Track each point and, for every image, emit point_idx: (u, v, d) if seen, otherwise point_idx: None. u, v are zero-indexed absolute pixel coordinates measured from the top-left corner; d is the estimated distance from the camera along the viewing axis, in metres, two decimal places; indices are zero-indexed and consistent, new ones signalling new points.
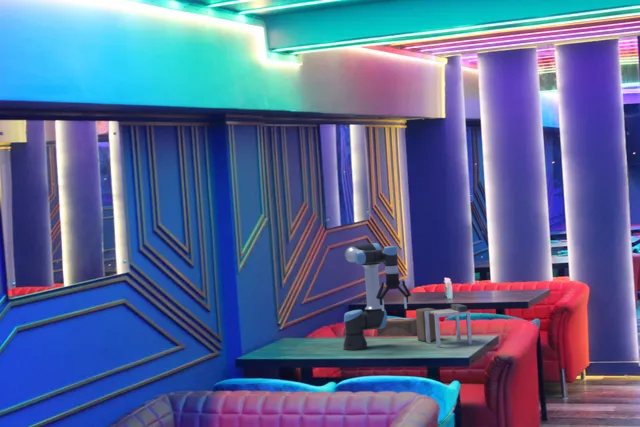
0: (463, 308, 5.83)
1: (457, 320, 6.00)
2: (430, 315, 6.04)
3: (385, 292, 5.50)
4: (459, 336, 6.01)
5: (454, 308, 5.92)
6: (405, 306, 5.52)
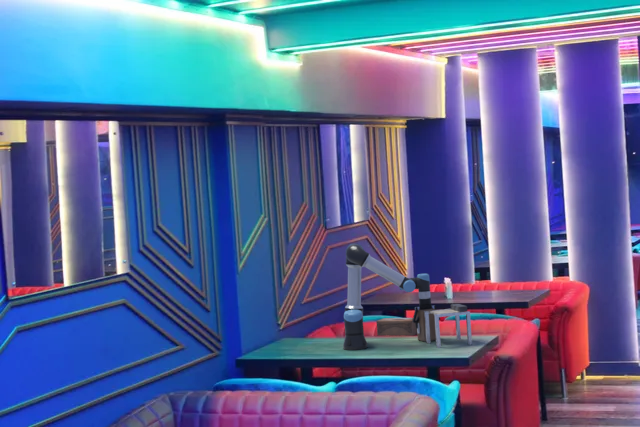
0: (463, 308, 5.83)
1: (457, 320, 6.00)
2: (430, 315, 6.04)
3: None
4: (459, 336, 6.01)
5: (454, 308, 5.92)
6: None
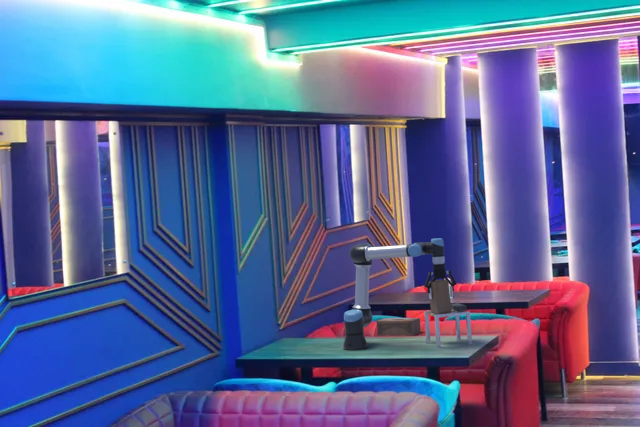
0: (463, 308, 5.83)
1: (457, 320, 6.00)
2: (442, 287, 5.84)
3: (432, 281, 5.86)
4: (459, 336, 6.01)
5: (454, 308, 5.92)
6: (451, 294, 5.89)
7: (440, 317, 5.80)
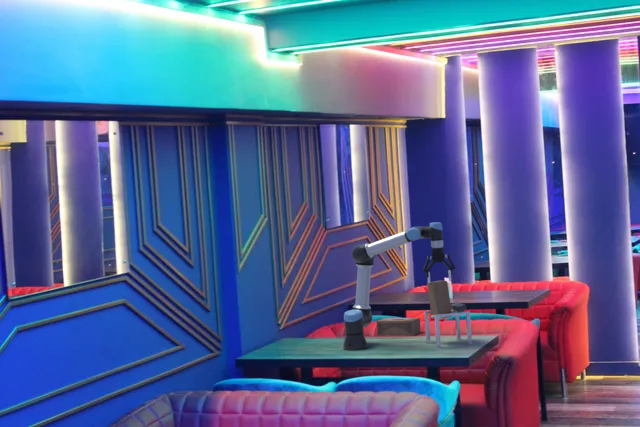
0: (462, 307, 5.83)
1: (457, 320, 6.00)
2: (441, 288, 5.84)
3: (431, 265, 5.86)
4: (459, 336, 6.01)
5: (453, 308, 5.92)
6: (450, 278, 5.89)
7: (441, 319, 5.80)
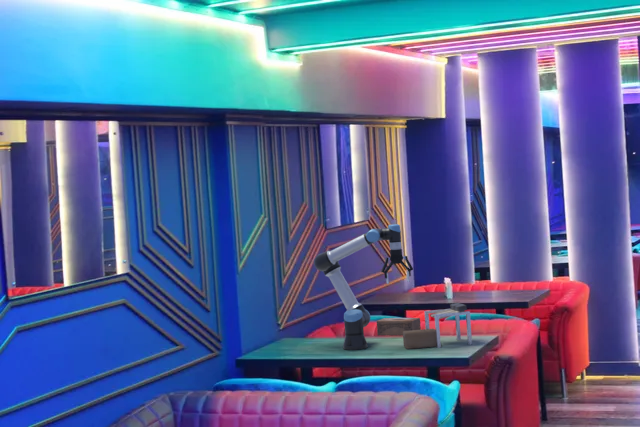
0: (462, 307, 5.83)
1: (457, 320, 6.00)
2: (411, 340, 5.79)
3: (389, 266, 5.99)
4: (459, 336, 6.01)
5: (454, 308, 5.92)
6: (408, 279, 6.01)
7: (440, 318, 5.80)
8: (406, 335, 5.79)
